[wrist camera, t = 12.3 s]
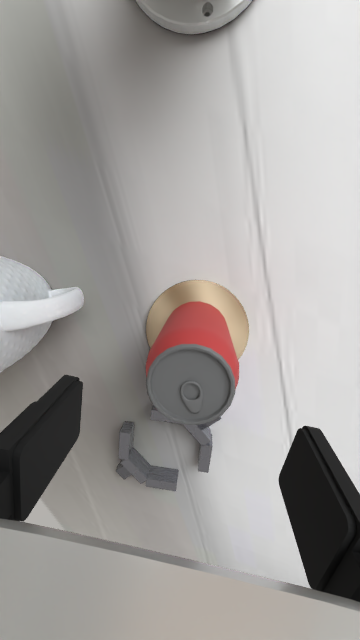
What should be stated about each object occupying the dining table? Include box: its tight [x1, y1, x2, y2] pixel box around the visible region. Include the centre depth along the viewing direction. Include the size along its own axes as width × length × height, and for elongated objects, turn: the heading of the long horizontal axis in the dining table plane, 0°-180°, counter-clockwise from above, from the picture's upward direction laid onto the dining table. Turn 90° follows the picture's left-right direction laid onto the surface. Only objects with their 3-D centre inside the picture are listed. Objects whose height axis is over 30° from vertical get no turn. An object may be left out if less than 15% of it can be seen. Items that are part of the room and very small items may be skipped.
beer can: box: [146, 301, 239, 425], centre depth 21 cm, size 7×7×12 cm
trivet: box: [146, 280, 249, 359], centre depth 28 cm, size 11×11×1 cm
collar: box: [116, 405, 221, 491], centre depth 31 cm, size 16×10×2 cm
